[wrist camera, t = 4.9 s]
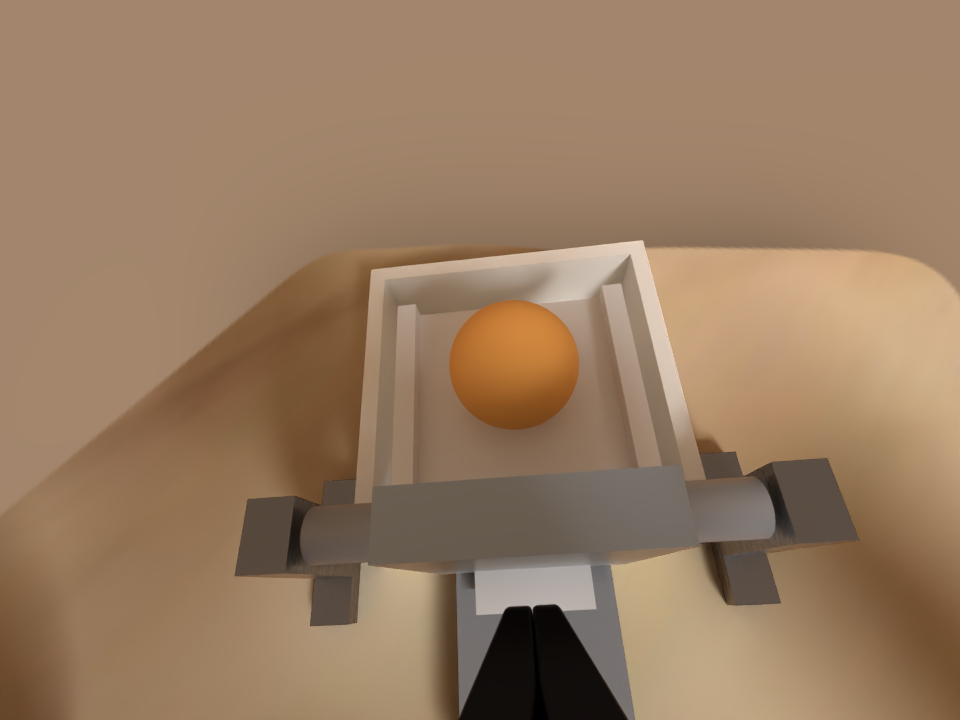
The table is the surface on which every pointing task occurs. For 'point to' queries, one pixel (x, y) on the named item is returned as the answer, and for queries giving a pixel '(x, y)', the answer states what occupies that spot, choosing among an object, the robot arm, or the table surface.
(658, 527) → the lever
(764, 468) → the stand
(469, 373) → the ball
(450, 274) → the white storage bin
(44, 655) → the table surface
